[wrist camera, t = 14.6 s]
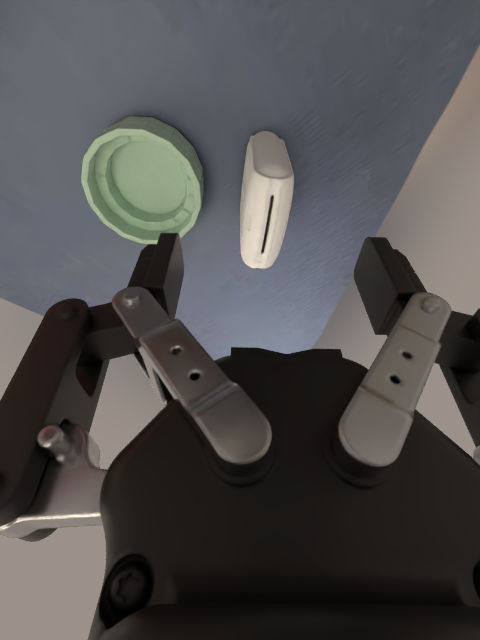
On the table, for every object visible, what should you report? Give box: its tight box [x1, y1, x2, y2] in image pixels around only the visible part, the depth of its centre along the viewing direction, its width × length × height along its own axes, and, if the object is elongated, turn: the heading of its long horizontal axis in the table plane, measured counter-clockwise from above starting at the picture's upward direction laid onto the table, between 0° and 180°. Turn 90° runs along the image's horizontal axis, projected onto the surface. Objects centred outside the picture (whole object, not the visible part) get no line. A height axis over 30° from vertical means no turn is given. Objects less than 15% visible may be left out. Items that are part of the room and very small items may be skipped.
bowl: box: [81, 116, 204, 244], centre depth 35 cm, size 12×12×5 cm
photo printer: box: [240, 131, 294, 269], centre depth 32 cm, size 10×4×12 cm, turn 174°
